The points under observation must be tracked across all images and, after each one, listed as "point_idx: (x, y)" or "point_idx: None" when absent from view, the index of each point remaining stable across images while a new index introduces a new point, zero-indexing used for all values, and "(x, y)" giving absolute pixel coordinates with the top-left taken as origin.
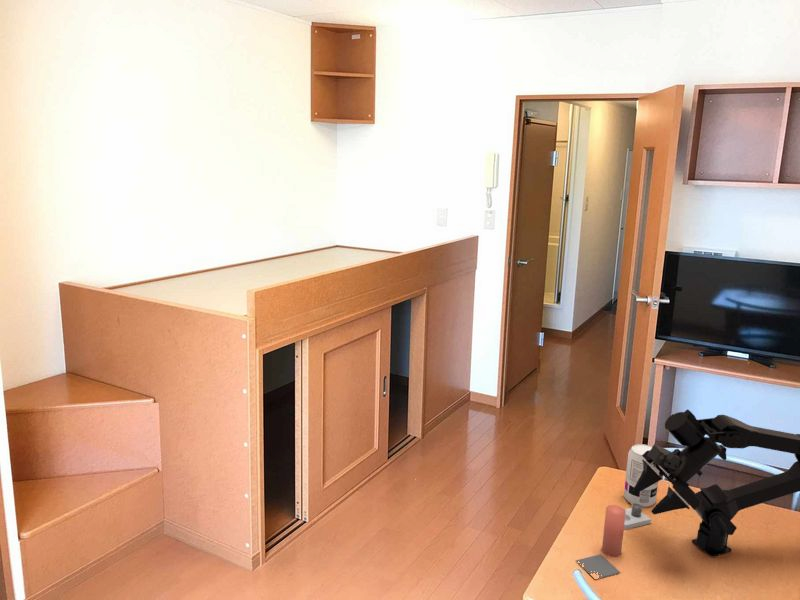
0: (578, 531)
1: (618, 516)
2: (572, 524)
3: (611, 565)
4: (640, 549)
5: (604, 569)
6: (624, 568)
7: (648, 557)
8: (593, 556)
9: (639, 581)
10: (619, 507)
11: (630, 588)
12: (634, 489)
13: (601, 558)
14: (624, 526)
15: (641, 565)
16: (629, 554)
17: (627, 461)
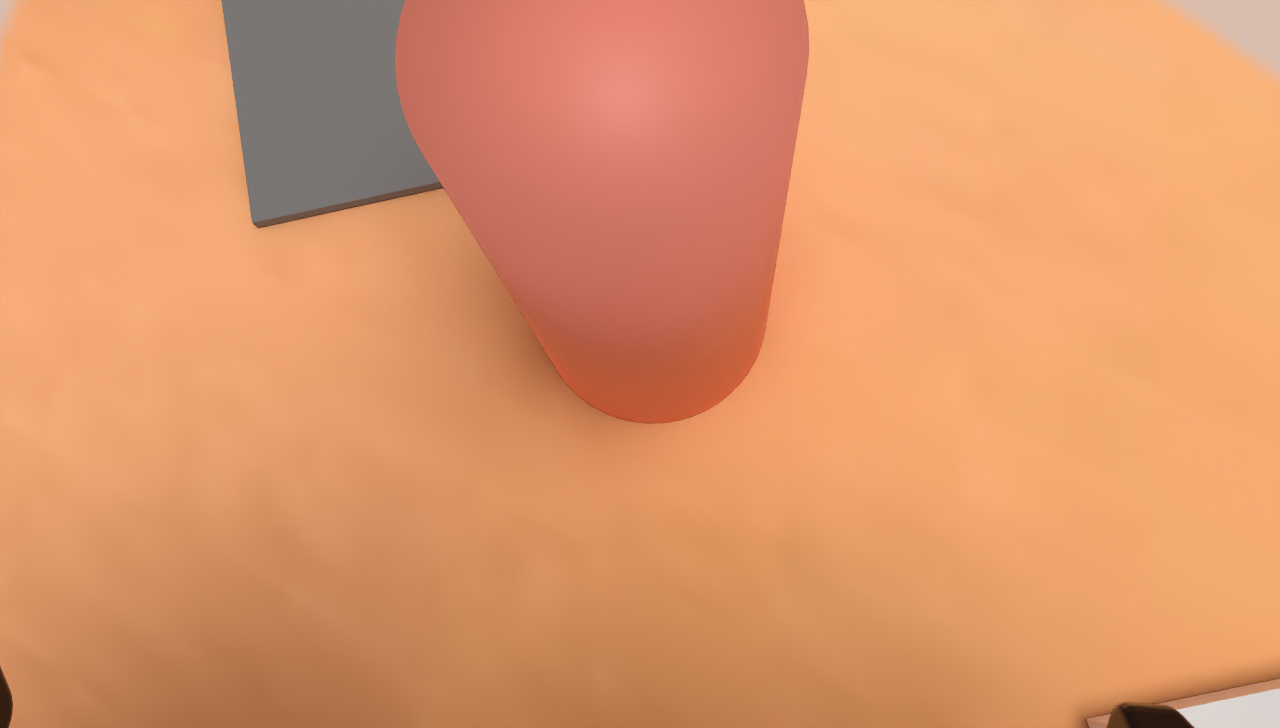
0: (1083, 87)
1: (410, 31)
2: (1241, 71)
3: (378, 178)
4: (632, 697)
5: (331, 76)
6: (328, 314)
7: (463, 714)
8: None
9: (95, 373)
10: (686, 166)
11: (22, 224)
12: (1134, 725)
13: None
14: None
15: (338, 540)
16: (557, 500)
17: None
